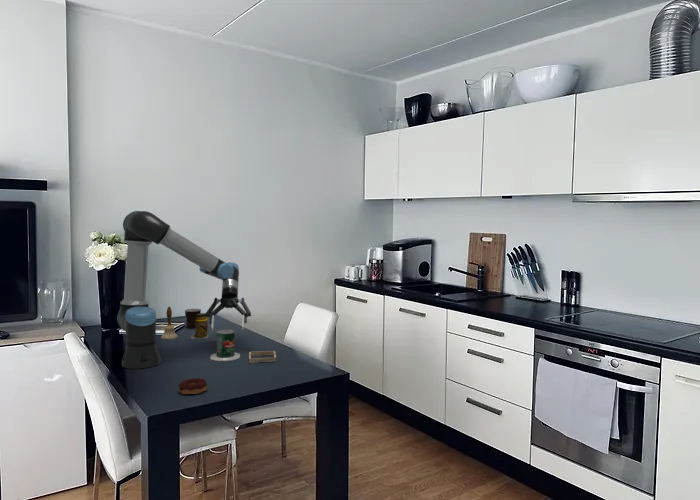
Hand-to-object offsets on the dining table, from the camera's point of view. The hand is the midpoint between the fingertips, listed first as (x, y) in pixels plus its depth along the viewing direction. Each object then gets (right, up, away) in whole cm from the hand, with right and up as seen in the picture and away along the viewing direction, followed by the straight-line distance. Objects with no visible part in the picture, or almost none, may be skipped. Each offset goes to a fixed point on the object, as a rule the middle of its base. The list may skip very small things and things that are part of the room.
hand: (227, 328), depth 227 cm
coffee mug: (-33, -8, +56) cm, 65 cm away
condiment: (-23, -10, +34) cm, 42 cm away
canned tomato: (0, -12, -3) cm, 12 cm away
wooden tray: (+17, -13, -5) cm, 22 cm away
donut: (-1, -16, -47) cm, 49 cm away
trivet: (0, -12, -3) cm, 13 cm away
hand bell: (-38, -10, +32) cm, 50 cm away
